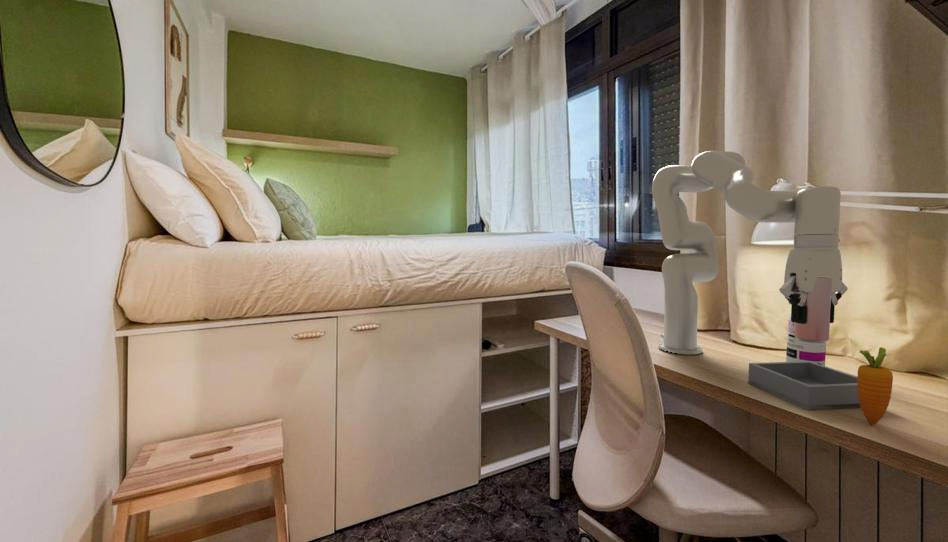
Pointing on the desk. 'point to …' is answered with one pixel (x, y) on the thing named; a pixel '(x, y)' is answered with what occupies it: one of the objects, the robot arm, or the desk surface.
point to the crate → (806, 384)
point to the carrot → (874, 387)
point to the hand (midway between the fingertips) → (812, 321)
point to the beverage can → (816, 313)
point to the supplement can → (803, 348)
